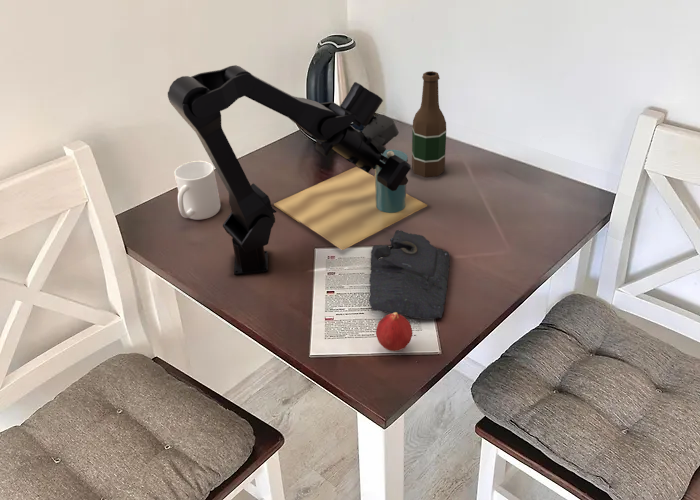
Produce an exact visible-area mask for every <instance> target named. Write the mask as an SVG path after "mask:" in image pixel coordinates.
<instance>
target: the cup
mask: <svg viewBox="0 0 700 500" xmlns="http://www.w3.org/2000/svg"><path fill="white" fill-rule="evenodd" d="M173 175H174V178H175V182H176V187H177V192H178V193H177V206H178V212H179V214H180V215H181V217H183V218H184V219H191V220H195V221H200V220H206V219H210V218H212V217H214V216H216V215H217V214H218V213H219V212H220V210H221V199H220V198H221V197H220V194H219V187H218V182H217V177H216V172H215V167H214V165H213V163H212V162H211V163H210V162H209V161H205V160H192V161H188V162H184V163H182V164H180V165H178V166H177V167H176V168H175V170H174V172H173Z"/></svg>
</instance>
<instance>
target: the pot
mask: <svg viewBox="0 0 700 500" xmlns="http://www.w3.org/2000/svg"><path fill="white" fill-rule="evenodd" d="M382 155H383V156H385V157H386V158H389V157H390V156H393V155H396V156H398V157H399V158H401V159H403V160H404V161H406V162H407V163H408V159H409V157H408V155H407V153H405V152H404V151H402V150H398V149H386V150H385V152H384V153H383V154H382ZM380 161H381V162H383V161H382V160H380ZM383 163H384V164H385V162H383ZM381 169H382V168H381V167H379V166H378V165H376V166H375V170H374V176H375V200H376V208H377V209H378V210H380V211H382V212H386V213H396V212H399V211H401V210H403V209H404V208H405V207H406V194H407V184H406V185H399V186H398V188H397V189H396V190H395V191H391V190H390V189H388V188H387V187H385V186H384V185H383V184H381V183H380V182H378V181H377V175H378V173H379V172H380V170H381Z"/></svg>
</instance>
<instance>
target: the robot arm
mask: <svg viewBox="0 0 700 500" xmlns="http://www.w3.org/2000/svg"><path fill="white" fill-rule="evenodd" d="M243 97H245V98H248V99H249V100H252V101H254V102H256V103H258V104H259V105H261V106H264V107H266V108H267V109H270V110H272V111H273V112H276V113H278V114H280V115H282V116H283V117H285V118H288V119H289V120H290V121H292V122H293V123H294V124H295V125H296V126H298V127H299V128H301V129H302V130H303V131H305V132H306V133H307V134H309V135H311V136H312V137H314V138H315V142H316V143H315V150H316V151H317V152H318V153H320V154H321V155H323V156H324V157H328V156H329V154H330V153H331V151H332V150H333V151H334V152H336V153H337V155H339V156H340V157H341V158H343V159H344V160H346V161H347V162H349V163H351V164H353V165H354V166H355V167H358V168H360V169H362V170H364V171H365V172H367V173H369V174H370V171H371V170H374V171H375V166H376V165H378V166H379V167H381V168H382V169H381V170H380V172H379V173H378V175H377V181H378V182H380V183H381V184H383V185H384V186H385V187H387V188H388V189H390V190H391V191H395V190H396V189H397V188H398V186H399V185H406V186H407V184H408V182H409V179H408V177H407V175H408V173H409V172H410V170H411V168H412V164H410V163H409V162H408V161H407V162H406V161H404V160H403V159H401V158H399V157H398V156H396V155H393V156H390V157H389V158H386V157H385V156H383V155H382V154H383V153H384V152H385V150H387V147H385V145H388V143H389V142H390V141H392V140H393V139H394V138H395V137H397V136H398V135H399V133H400V132H399V129H398V128H397V126H396V123H395V121H394V120H393V119H392V118H391V117H388V116H387V115H385V114H379V113H377V114H376V112H377V111H378V109H379V108H380V107H381V105H382V103H383V102H384V99H383V98H382V97H381V96H379V95H378V94H376V93H374V92H372V91H371V90H369V89H368V88H366V87H364V85H362V84H360V83H358V82H357V81H354V82H353V84H352V85H351V87H350V89H349V91H348V93H347V95H346V96H345V98H343V101H342V102H341V104H340V105H339V104H338V103H335V102H334V101H327V102H321V103H319V102H318V101H315V100H312V99H309V98H305V97H298V96H294V95H291V94H289V93H288V92H286V91H284V90H282V89H280V88H278V87H276V86H275V85H273V84H271V83H268V82H267V81H265V80H263V79H262V78H259V77H257V76H256V75H253V73H251V72H250V71H248V70H247V69H245V68H243V67H241V66H240V65H236V64H235V65H230V66H227V67H224V68H222V69H217V70H212V71H204V72H199V73H196V74H194V75H192V76H189V75H182V76H180V77H176V79H175V80H174V81H173V82H172V83H171V84H170V86H169V88H168V91H167V99H168V101H169V103H170V104H171V105H172V107H173V108H174V109H175V111H176V112H177V113H178V114H179V116H181V118H182V119H183V120H184V122H186V123H187V125H188V126H189V127H190V128H191V129H192V130H193V131H194V132H195V134H196V135H197V137H198V139H199V141H200V144H202V147H203V148H204V150H205V152H206V154H207V156H208V157H209V160H210V161H211V164H212V165H213V167H214V170H216V172H217V175H218V176H219V177H220V180H221V181H222V183H223V185H224V187H225V189H226V190H227V192H228V204H229V207H230V213H229V215H228V216H227V218H226V219H225V221H224V222H223V224H222V227H223V229H224V231H225V232H226V234H228V235H229V236H230V237H231V238H232V239H231V242H232V247H233V253H234V266H233V275H234V276H242V275H243V276H244V275H253V274H262V273H268V272H269V252H268V250H265V246H267V245H269V242H270V237H271V232H272V228H273V227H274V225H275V223H276V216H275V214H276V213H277V210H276V209H275V208H273V205H272V203H271V199H270V197H269V195H268V194H267V193H266V192H264V190H262V189H261V188H260V187H259V186H258V185H257V184H256V183H254V182H253V183H252V184H251V183H250V181H249V179H248V178H247V175H246V174H245V171H244V169H243V167H242V165H241V163H240V161H239V159H238V157H237V155H236V153H235V152H234V148H232V145H231V143H230V142H229V140H228V138H227V136H226V134H225V132H224V130H223V127H222V113H221V112H222V111H225V110H227V109H229V108H230V107H231V106H232V105H233V104H234V103H235V102H237V101H238V100H239V99H241V98H243ZM375 114H376V115H375ZM352 124H353V125H355V126H357V128H360V127H361V125H362V126H363V130H362V131H361V130H360V129H356V128H355V127H353V125H352ZM380 160H382V161H383V162H385V164H384V163H383V162H381V161H380Z"/></svg>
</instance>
